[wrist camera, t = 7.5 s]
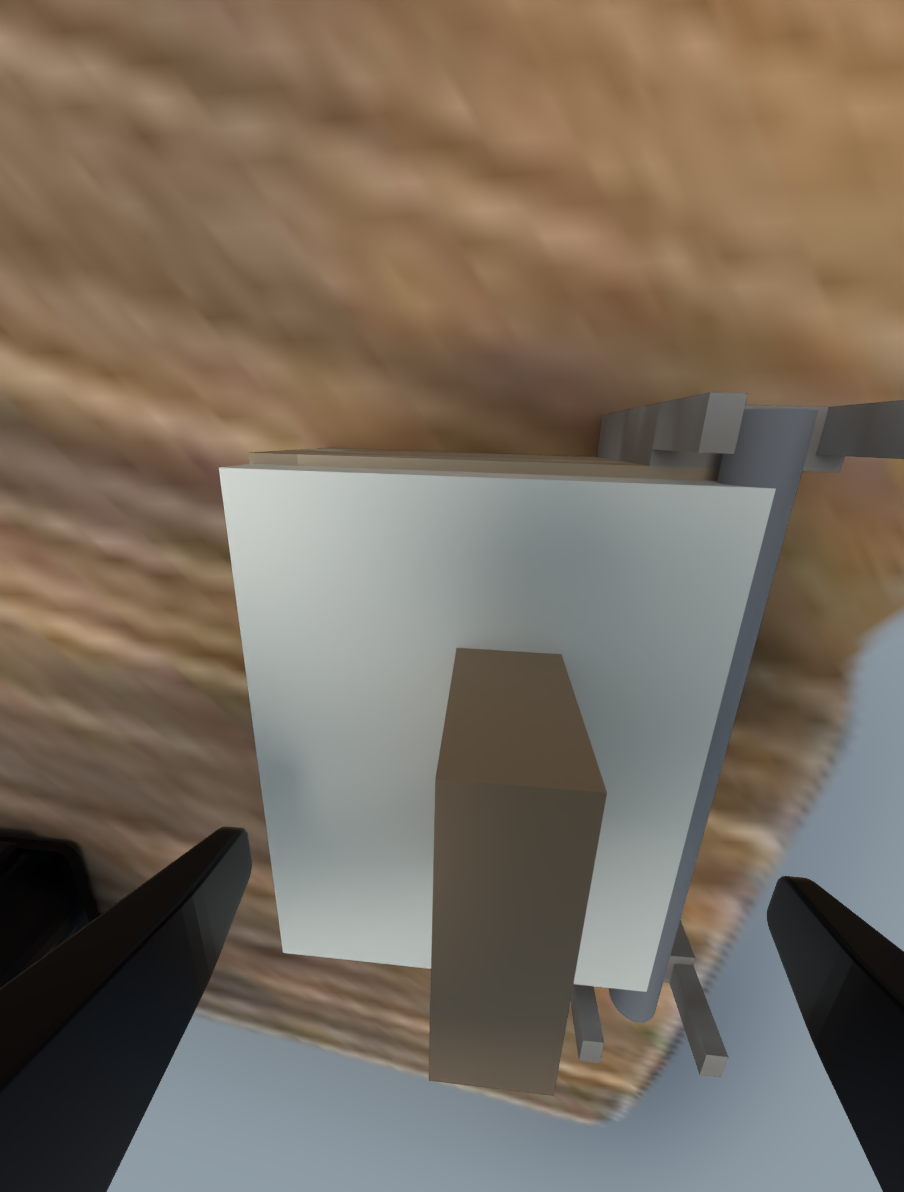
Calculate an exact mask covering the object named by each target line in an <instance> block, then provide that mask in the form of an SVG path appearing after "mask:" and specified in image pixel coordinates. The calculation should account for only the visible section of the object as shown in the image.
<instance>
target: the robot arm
mask: <svg viewBox="0 0 904 1192" xmlns="http://www.w3.org/2000/svg"><path fill="white" fill-rule="evenodd" d="M251 869H252V859H251V853H250V846H249V839H248V834H247V831H246V830H245V829H243V828H236V827H222V828H220V829H218V830H216V831H215V832H214V833H212V834H211V835H209V836H208V837H207V838H205V839H204V840H203V841H201V842H200V843H199V844H197V845H196V846H194V847H193V848H192V849H190V850H189V851H188V852H186V853H185V854H183V855H182V856H181V857H179V858H178V859H177V860H175V861H174V862H172V863H171V864H170V865H168V866H167V867H166V868H164V869H163V870H162V871H160V872H159V873H157V874H156V875H155V876H153V877H152V878H151V879H149V880H148V881H146V882H145V883H144V884H142V885H141V886H140V887H138V888H137V889H136V890H134V891H133V892H131V893H130V894H129V895H127V896H126V897H125V898H123V899H122V900H120V901H119V902H118V903H116V904H115V905H114V906H112V907H111V908H109V909H108V910H107V911H105V912H104V913H103V914H101V915H100V916H99V917H97V914H96V911H95V908H94V904H93V901H92V898H91V895H90V892H89V889H88V885H87V882H86V879H85V876H84V873H83V870H82V866H81V863H80V860H79V857H78V854H77V852H76V850H75V849H74V848H73V847H71V846H69V845H67V844H63V843H52V842H41V841H31V840H20V839H9V838H0V1192H107V1190H108V1188H109V1186H110V1184H111V1182H112V1179H113V1177H114V1175H115V1173H116V1171H117V1169H118V1167H119V1165H120V1163H121V1160H122V1159H123V1157H124V1155H125V1153H126V1151H127V1149H128V1147H129V1145H130V1143H131V1140H132V1138H133V1136H134V1134H135V1132H136V1130H137V1128H138V1126H139V1124H140V1122H141V1120H142V1118H143V1116H144V1114H145V1112H146V1110H147V1108H148V1106H149V1104H150V1102H151V1100H152V1097H153V1095H154V1093H155V1091H156V1089H157V1087H158V1085H159V1083H160V1081H161V1079H162V1077H163V1075H164V1073H165V1071H166V1069H167V1067H168V1065H169V1063H170V1061H171V1058H172V1056H173V1055H174V1052H175V1050H176V1048H177V1046H178V1044H179V1042H180V1040H181V1038H182V1036H183V1034H184V1032H185V1030H186V1028H187V1026H188V1024H189V1022H190V1020H191V1018H192V1016H193V1014H194V1011H195V1009H196V1007H197V1005H198V1003H199V1001H200V999H201V997H202V995H203V993H204V991H205V989H206V986H207V984H208V982H209V980H210V978H211V975H212V973H213V970H214V968H215V966H216V963H217V961H218V958H219V956H220V953H221V950H222V948H223V945H224V943H225V940H226V937H227V935H228V932H229V930H230V927H231V924H232V922H233V919H234V917H235V914H236V911H237V909H238V906H239V904H240V901H241V899H242V896H243V893H244V891H245V888H246V886H247V883H248V880H249V878H250V874H251ZM767 921H768V926H769V929H770V932H771V935H772V937H773V940H774V942H775V945H776V947H777V950H778V953H779V955H780V958H781V961H782V963H783V966H784V969H785V971H786V974H787V977H788V979H789V982H790V985H791V987H792V990H793V992H794V995H795V997H796V1000H797V1003H798V1005H799V1008H800V1011H801V1013H802V1016H803V1019H804V1021H805V1024H806V1026H807V1028H808V1031H809V1034H810V1036H811V1039H812V1041H813V1043H814V1045H815V1048H816V1050H817V1052H818V1055H819V1057H820V1059H821V1061H822V1063H823V1066H824V1068H825V1070H826V1072H827V1074H828V1076H829V1078H830V1080H831V1082H832V1085H833V1087H834V1089H835V1091H836V1093H837V1095H838V1097H839V1099H840V1102H841V1104H842V1106H843V1108H844V1110H845V1112H846V1114H847V1116H848V1119H849V1121H850V1123H851V1124H852V1127H853V1129H854V1131H855V1133H856V1135H857V1137H858V1140H859V1142H860V1144H861V1146H862V1148H863V1150H864V1152H865V1154H866V1157H867V1159H868V1161H869V1163H870V1165H871V1167H872V1169H873V1171H874V1173H875V1176H876V1178H877V1180H878V1182H879V1184H880V1186H881V1188H882V1190H883V1192H904V951H902V950H901V949H900V948H898V947H897V946H896V945H894V944H893V943H892V942H891V941H889V940H888V939H887V938H886V937H884V936H883V935H882V934H880V933H879V932H878V931H876V930H875V929H874V928H873V927H871V926H870V925H869V924H868V923H866V922H865V921H864V920H862V919H861V918H860V917H858V916H857V915H856V914H855V913H853V912H852V911H851V910H850V909H848V908H847V907H846V906H844V905H843V904H842V903H841V902H839V901H838V900H837V899H835V898H834V897H833V896H832V895H830V894H829V893H828V892H826V891H825V890H824V889H823V888H821V887H820V886H819V885H818V884H816V883H815V882H813V881H811V880H809V879H807V878H800V877H790V876H784V877H781V878H780V879H778V881H777V884H776V887H775V889H774V892H773V895H772V898H771V901H770V904H769V906H768V910H767Z"/></svg>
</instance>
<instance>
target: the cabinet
mask: <svg viewBox="0 0 904 1192" xmlns="http://www.w3.org/2000/svg"><path fill="white" fill-rule="evenodd" d="M747 394H748V393H717V392H709V393H705V394H700V395H695V396H690V397H685V398H681V399H676V400H671V401H666V402H661V403H656V404H652V405H647V406H642V407H637V408H632V409H628V410H623V411H618V412H613V413H608V414H604V415H602V421H601V429H600V437H599V445H598V453H597V457H586V456H555V455H524V454H493V453H462V452H432V451H401V450H370V449H339V448H317V449H301V450H284V451H268V452H251V453H248V456H249V464H265V465H292V466H320V467H347V468H374V469H402V470H429V471H456V472H483V473H511V474H538V475H565V476H593V477H620V478H647V479H674V480H702V481H717V480H718V475H719V470H720V466H721V461H722V456H723V453H725V454H734V452H735V448H736V443H737V439H738V434H739V430H740V425H741V421H742V416H743V412H744V409H811V410H818V415H817V419H816V422H815V426H814V430H813V433H812V437H811V441H810V444H809V448H808V452H807V455H806V459H805V463H804V466H803V470H802V471H809V472H839V473H840V470H841V467H842V463H843V460H844V457H845V456H855V457H875V458H895V459H904V400H899V401H889V402H878V403H867V404H856V405H845V406H834V407H811V406H770V405H745V403H746V398H747ZM694 961H695V956H694V953H693V951H692V948H691V946H690V943H689V941H688V938H687V936H686V933H685V930H684V928H683V925H682V923H681V920H680V922H679V926H678V929H677V933H676V937H675V940H674V944H673V948H672V951H671V955H670V959H669V962H668V966H667V970H666V973H665V977H664V981H663V982H666V983H670V986H671V989H672V992H673V995H674V998H675V1001H676V1004H677V1007H678V1010H679V1013H680V1016H681V1019H682V1022H683V1025H684V1028H685V1031H686V1035H687V1038H688V1041H689V1044H690V1046H691V1050H692V1053H693V1056H694V1059H695V1061H696V1065H697V1068H698V1071H699V1074H700V1075H705V1076H714V1077H721V1076H722V1073H723V1071H724V1068H725V1065H726V1062H727V1060H728V1055H727V1052H726V1050H725V1047H724V1044H723V1042H722V1039H721V1037H720V1034H719V1031H718V1029H717V1026H716V1023H715V1021H714V1019H713V1016H712V1013H711V1010H710V1008H709V1005H708V1003H707V1000H706V997H705V995H704V992H703V990H702V987H701V984H700V982H699V979H698V977H697V974H696V971H695V969H694V966H693V965H694ZM571 1007H572V1014H573V1021H574V1028H575V1035H576V1043H577V1050H578V1057H579V1061H586V1062H595V1063H600V1059H601V1054H602V1050H603V1045H604V1040H603V1035H602V1029H601V1024H600V1019H599V1013H598V1008H597V1003H596V997H595V992H594V987H593V986H587V985H578V984H573V989H572V995H571Z"/></svg>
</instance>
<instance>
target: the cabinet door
mask: <svg viewBox="0 0 904 1192" xmlns="http://www.w3.org/2000/svg"><path fill="white" fill-rule="evenodd" d="M817 415H818V410H811V409H744V412H743V416H742V421H741V425H740V430H739V434H738V439H737V443H736V448H735V452H734V454H725V453H723V456H722V461H721V466H720V470H719V475H718V480H717V481H702V480H674V479H647V478H620V477H593V476H565V475H538V474H511V473H483V472H456V471H429V470H402V469H374V468H347V467H320V466H292V465H265V464H248V465H239V466H230V467H220V468H219V473H220V481H221V488H222V496H223V504H224V511H225V519H226V526H227V534H228V541H229V549H230V556H231V564H232V571H233V579H234V586H235V594H236V602H237V609H238V617H239V624H240V632H241V639H242V647H243V654H244V662H245V669H246V677H247V684H248V692H249V699H250V707H251V715H252V722H253V730H254V737H255V745H256V752H257V760H258V767H259V775H260V782H261V790H262V797H263V805H264V813H265V820H266V828H267V835H268V843H269V850H270V858H271V865H272V873H273V880H274V888H275V895H276V903H277V910H278V918H279V926H280V933H281V941H282V948H283V953H290V954H299V955H309V956H318V957H327V958H336V959H346V960H355V961H364V962H373V963H383V964H392V965H401V966H411V967H420V968H429V969H431V996H430V1041H429V1081H436V1082H445V1083H453V1084H461V1085H469V1086H477V1087H485V1088H493V1089H501V1090H509V1091H517V1092H525V1093H533V1094H541V1095H549V1096H554V1091H555V1086H556V1080H557V1074H558V1069H559V1063H560V1057H561V1052H562V1046H563V1040H564V1035H565V1029H566V1023H567V1018H568V1012H569V1006H570V1000H571V995H572V989H573V984H578V985H587V986H596V987H605V988H609V993H610V997H611V1000H612V1002H613V1004H614V1005H615V1007H616V1008H617V1009H618V1011H619V1012H620V1013H621V1014H622V1015H624V1016H625V1017H626V1018H628V1019H630V1020H632V1021H635V1022H646V1021H649V1020H650V1019H651V1018H652V1017H653V1016H654V1013H655V1010H656V1006H657V1003H658V999H659V995H660V992H661V988H662V984H663V981H664V977H665V973H666V970H667V966H668V962H669V959H670V955H671V951H672V948H673V944H674V940H675V937H676V933H677V929H678V926H679V922H680V918H681V915H682V911H683V907H684V904H685V900H686V896H687V893H688V889H689V885H690V882H691V878H692V874H693V871H694V867H695V863H696V860H697V856H698V852H699V849H700V845H701V841H702V837H703V834H704V830H705V826H706V823H707V819H708V815H709V812H710V808H711V804H712V801H713V797H714V793H715V790H716V786H717V782H718V779H719V775H720V771H721V768H722V764H723V760H724V757H725V753H726V749H727V746H728V742H729V738H730V735H731V731H732V727H733V724H734V720H735V716H736V713H737V709H738V705H739V702H740V698H741V694H742V691H743V687H744V683H745V680H746V676H747V672H748V669H749V665H750V661H751V657H752V654H753V650H754V646H755V643H756V639H757V635H758V632H759V628H760V624H761V621H762V617H763V613H764V610H765V606H766V602H767V599H768V595H769V591H770V588H771V584H772V580H773V577H774V573H775V569H776V566H777V562H778V558H779V555H780V551H781V547H782V544H783V540H784V536H785V533H786V529H787V525H788V522H789V518H790V514H791V511H792V507H793V503H794V500H795V496H796V492H797V488H798V485H799V481H800V477H801V474H802V470H803V466H804V463H805V459H806V455H807V452H808V448H809V444H810V441H811V437H812V433H813V430H814V426H815V422H816V419H817Z"/></svg>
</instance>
